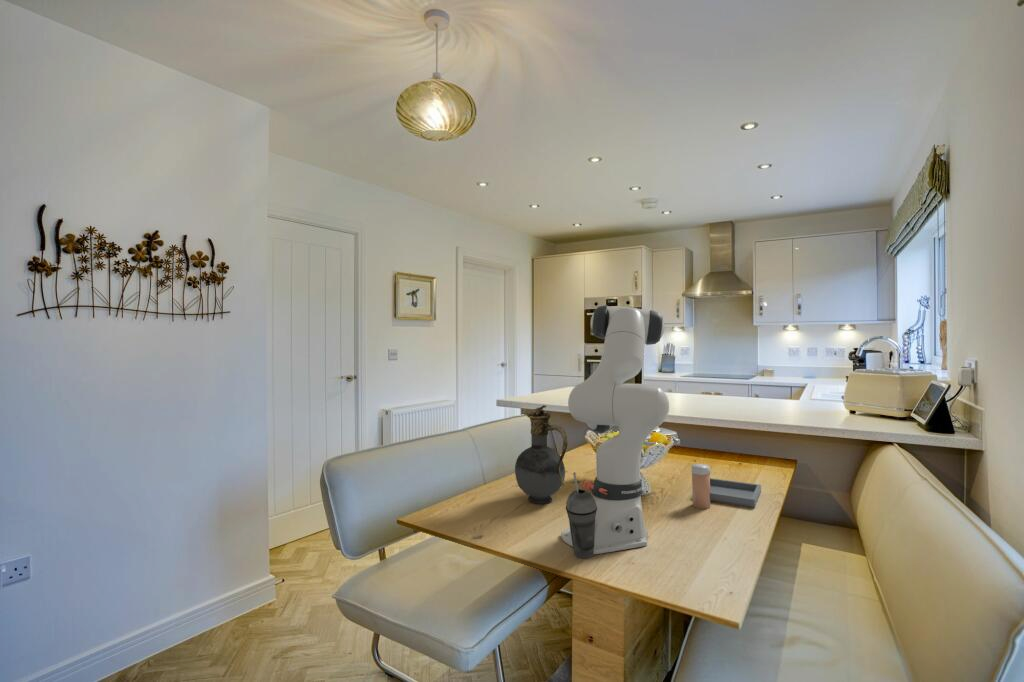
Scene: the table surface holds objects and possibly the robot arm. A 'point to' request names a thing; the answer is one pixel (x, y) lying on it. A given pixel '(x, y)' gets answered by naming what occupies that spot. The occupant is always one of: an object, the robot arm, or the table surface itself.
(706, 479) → the shaker
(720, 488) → the tray
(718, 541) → the table surface
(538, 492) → the pitcher
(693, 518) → the table surface
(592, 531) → the beverage cup
